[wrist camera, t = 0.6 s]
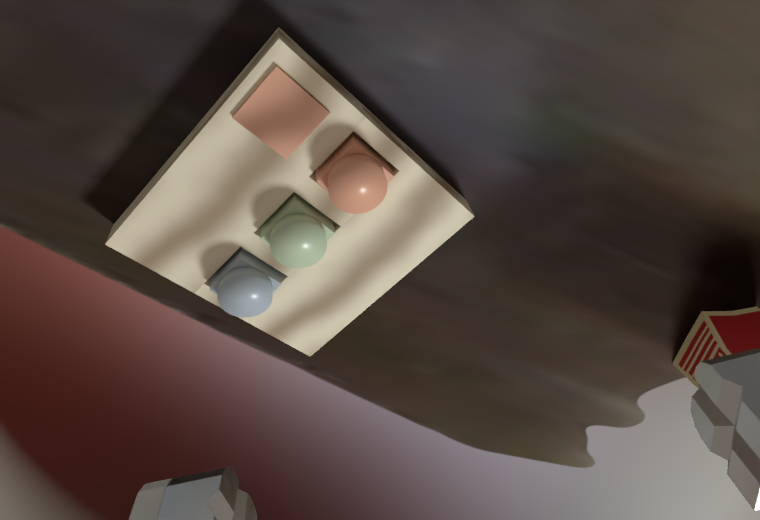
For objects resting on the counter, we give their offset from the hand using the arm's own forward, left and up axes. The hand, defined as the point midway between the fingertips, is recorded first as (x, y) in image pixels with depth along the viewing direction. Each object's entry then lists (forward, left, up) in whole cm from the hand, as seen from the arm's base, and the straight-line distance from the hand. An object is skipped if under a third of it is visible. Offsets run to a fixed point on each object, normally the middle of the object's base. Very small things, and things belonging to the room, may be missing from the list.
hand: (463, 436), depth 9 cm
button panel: (+10, -15, -37) cm, 41 cm away
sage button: (+10, -15, -35) cm, 39 cm away
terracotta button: (+10, -8, -35) cm, 37 cm away
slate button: (+10, -22, -35) cm, 42 cm away
